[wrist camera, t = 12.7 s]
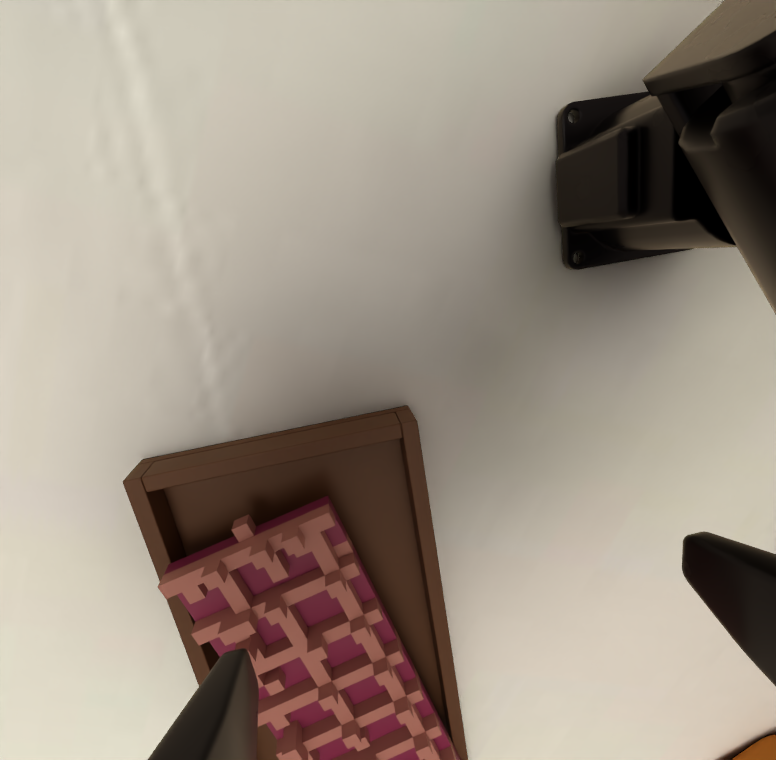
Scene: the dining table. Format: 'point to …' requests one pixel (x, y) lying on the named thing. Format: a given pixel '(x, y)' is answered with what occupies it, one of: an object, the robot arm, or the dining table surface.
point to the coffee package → (760, 750)
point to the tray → (296, 489)
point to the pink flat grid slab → (311, 639)
